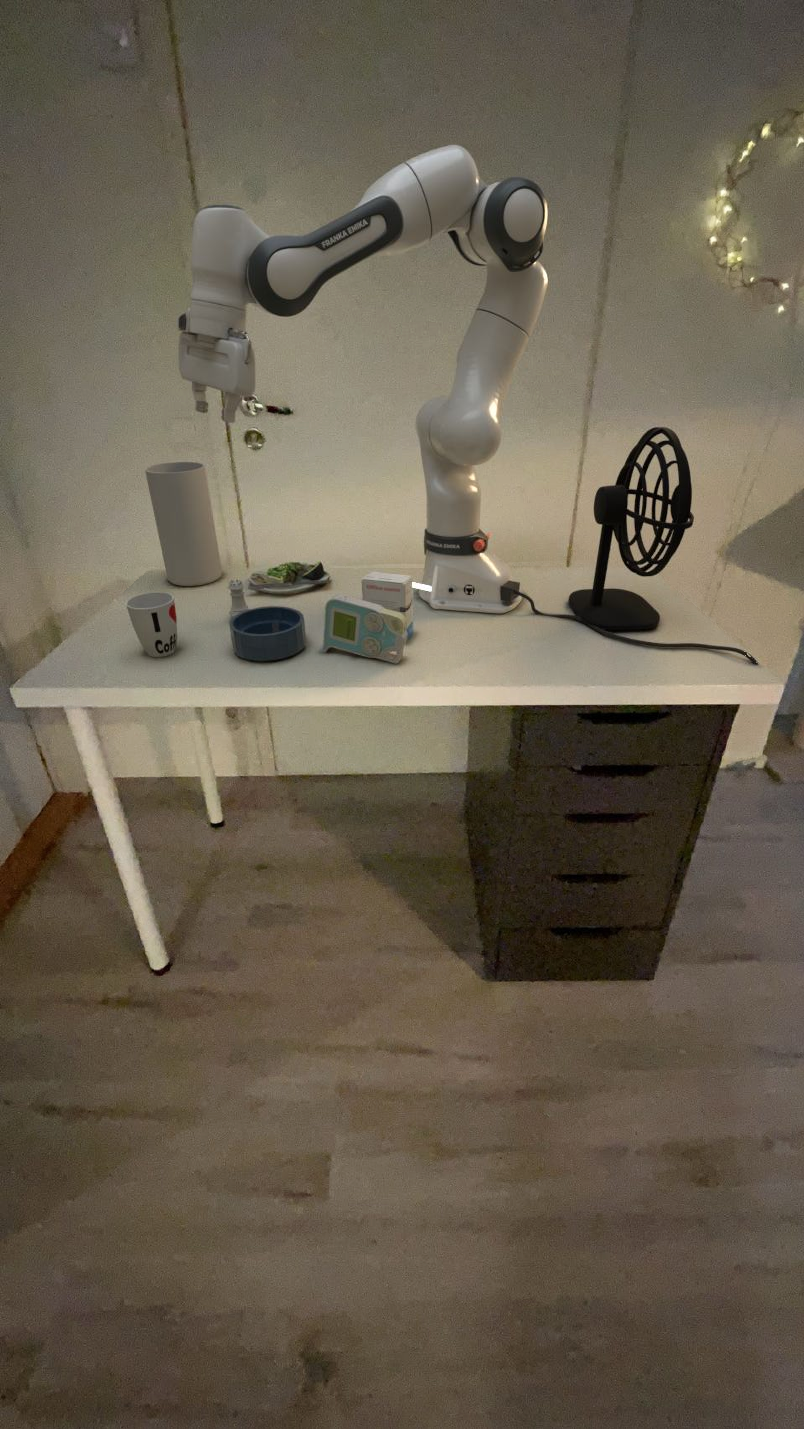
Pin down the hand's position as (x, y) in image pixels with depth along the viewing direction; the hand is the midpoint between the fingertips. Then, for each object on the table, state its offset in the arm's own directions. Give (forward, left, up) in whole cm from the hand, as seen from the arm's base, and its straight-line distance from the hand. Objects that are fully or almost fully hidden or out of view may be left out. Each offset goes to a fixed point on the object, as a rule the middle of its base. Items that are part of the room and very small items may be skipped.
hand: (214, 417), depth 113 cm
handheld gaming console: (-30, +6, -38) cm, 49 cm away
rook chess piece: (+1, 0, -38) cm, 38 cm away
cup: (+6, +18, -38) cm, 43 cm away
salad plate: (+2, -22, -38) cm, 44 cm away
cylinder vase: (+25, -16, -38) cm, 49 cm away
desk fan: (-69, -31, -38) cm, 85 cm away
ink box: (-31, -4, -38) cm, 49 cm away
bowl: (-12, +9, -38) cm, 41 cm away
